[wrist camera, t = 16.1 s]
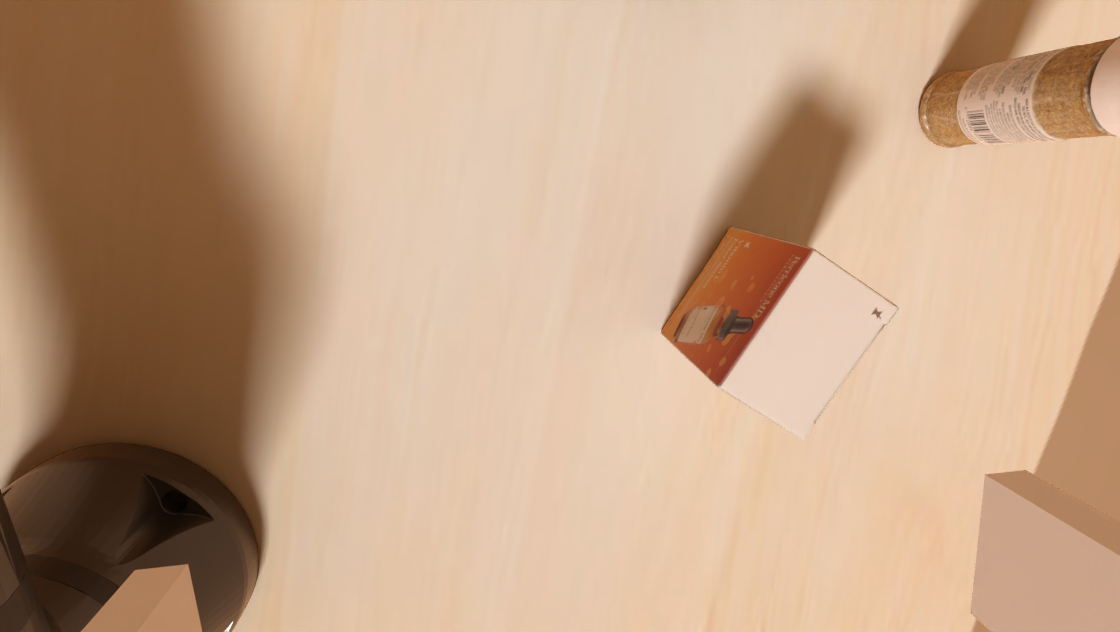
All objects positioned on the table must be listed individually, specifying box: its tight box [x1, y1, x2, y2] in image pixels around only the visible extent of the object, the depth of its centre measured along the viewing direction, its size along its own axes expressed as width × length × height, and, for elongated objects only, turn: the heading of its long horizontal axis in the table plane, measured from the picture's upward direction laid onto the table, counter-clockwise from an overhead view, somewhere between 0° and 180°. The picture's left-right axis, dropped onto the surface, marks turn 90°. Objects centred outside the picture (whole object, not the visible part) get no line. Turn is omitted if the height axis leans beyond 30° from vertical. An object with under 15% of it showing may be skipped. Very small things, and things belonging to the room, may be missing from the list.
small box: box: [661, 227, 899, 439], centre depth 35 cm, size 8×6×10 cm
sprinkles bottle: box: [919, 36, 1120, 148], centre depth 33 cm, size 5×5×13 cm
